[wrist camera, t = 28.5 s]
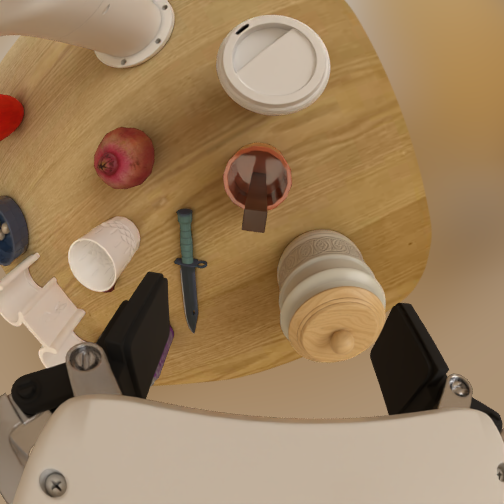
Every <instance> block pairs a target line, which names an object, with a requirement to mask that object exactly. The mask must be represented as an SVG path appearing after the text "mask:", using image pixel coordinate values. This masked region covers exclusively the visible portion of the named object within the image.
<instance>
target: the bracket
mask: <svg viewBox="0 0 504 504" xmlns="http://www.w3.org/2000/svg"><path fill="white" fill-rule="evenodd" d="M39 257H40V256H39V254H38V253H35V254H34V255H30V256H28V257H27V258H26V259H25V260H23V261H22V262H21V263H20V264H19V265H17V266H16V267H15V268H14V269H13V270H11V271H10V272H9V273H8V274H7V275H6V276H4V277H3V278H2V279H1V280H0V314H1V315H2V317H3V318H4V319H5V320H7V321H8V322H9V323H10V324H12V325H14V326H20V325H21V324H22V323H24V324H25V325H26V327H27V328H28V329H29V330H30V332H31V333H32V334H33V335H34V336H35V337H36V339H37V340H38V341H39V342H40V343H41V344H42V346H41V348H40V350H39V357H40V360H41V362H42V363H43V365H44V366H45V367H46V368H49V367H53V366H56V365H59V364H62V363H65V362H66V359H65V357H66V354H67V352H68V351H69V350H70V348H72V347H73V346H74V345H76V344H79V343H82V342H85V341H83V340H82V339H80V338H79V337H78V336H77V335H76V334H75V333H74V332H73V330H74V329H75V327H76V326H77V324H78V323H79V322H80V320H81V319H82V318H83V316H84V315H85V311H84V310H83V309H77V308H76V306H75V305H74V304H73V303H72V301H71V300H70V299H69V298H68V297H67V295H66V294H65V293H64V291H63V290H62V289H61V288H60V286H59V285H58V284H57V279H56V278H55V277H53V278H52V279H51V280H50V281H49V282H48V283H47V284H46V285H45V286H44V287H43V288H41V287H40V286H38V285H37V284H36V283H35V282H34V281H33V279H32V277H31V275H30V273H29V269H28V267H29V266H30V265H31V264H33V263H34V262H35V261H36V260H37V259H38V258H39ZM100 336H101V335H100ZM99 338H100V337H99ZM95 344H96V343H95Z"/></svg>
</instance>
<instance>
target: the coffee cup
mask: <svg viewBox="0 0 504 504" xmlns="http://www.w3.org/2000/svg"><path fill="white" fill-rule="evenodd" d="M216 69H217V74H218V78H219V81H220V83H221V85H222V87H223V89H224V90H225V92H226V93H227V94H228V95H229V96H230V97H231V98H232V99H233V100H234V101H235V102H236V103H238V104H239V105H240V106H242V107H244V108H246V109H248V110H250V111H253V112H255V113H259V114H264V115H273V116H277V115H287V114H291V113H295V112H298V111H300V110H302V109H304V108H306V107H308V106H309V105H311V104H312V103H313V102H314V101H315V100H317V99H318V97H319V96H320V95H321V94H322V92H323V91H324V89H325V87H326V85H327V83H328V80H329V76H330V59H329V55H328V51H327V49H326V47H325V45H324V43H323V41H322V40H321V38H320V37H319V36H318V35H317V34H316V33H315V32H314V31H313V30H312V29H311V28H310V27H308V26H307V25H305V24H304V23H302V22H300V21H298V20H295V19H293V18H290V17H286V16H280V15H263V16H258V17H254V18H251V19H248V20H246V21H244V22H242V23H240V24H239V25H237V26H236V27H235V28H233V29H232V30H231V31H230V32H229V33H228V34H227V36H226V37H225V38H224V40H223V42H222V43H221V45H220V48H219V51H218V54H217V60H216Z"/></svg>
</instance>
